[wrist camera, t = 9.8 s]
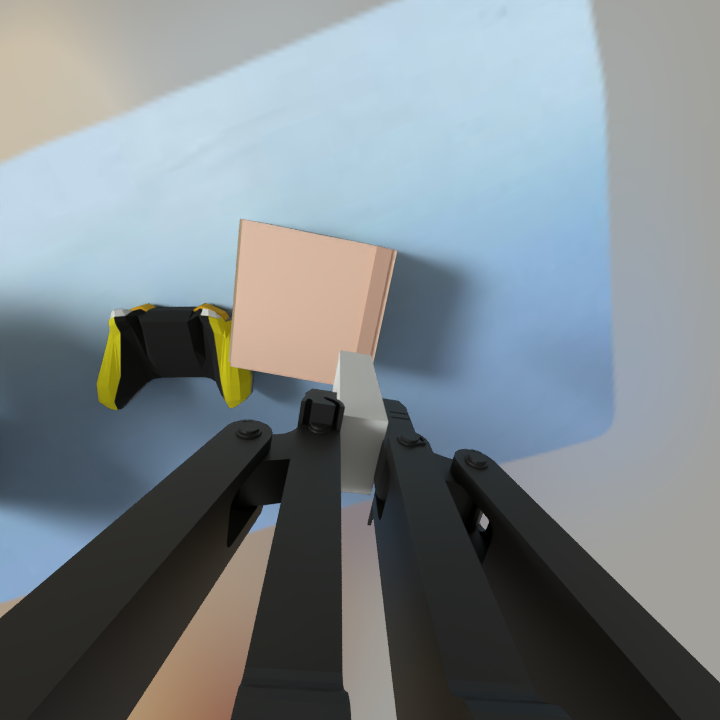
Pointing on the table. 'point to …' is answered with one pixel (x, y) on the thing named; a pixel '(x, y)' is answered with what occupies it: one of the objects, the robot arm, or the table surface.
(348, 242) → the lid
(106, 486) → the table surface
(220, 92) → the table surface
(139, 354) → the gaming controller
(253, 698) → the robot arm
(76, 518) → the table surface
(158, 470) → the table surface
